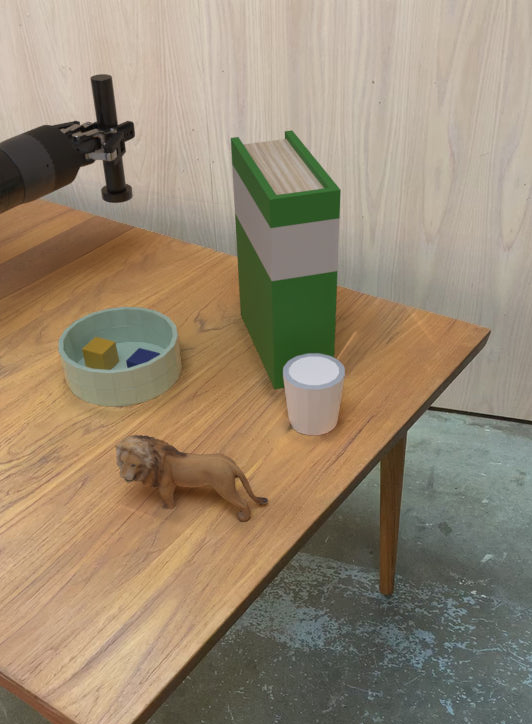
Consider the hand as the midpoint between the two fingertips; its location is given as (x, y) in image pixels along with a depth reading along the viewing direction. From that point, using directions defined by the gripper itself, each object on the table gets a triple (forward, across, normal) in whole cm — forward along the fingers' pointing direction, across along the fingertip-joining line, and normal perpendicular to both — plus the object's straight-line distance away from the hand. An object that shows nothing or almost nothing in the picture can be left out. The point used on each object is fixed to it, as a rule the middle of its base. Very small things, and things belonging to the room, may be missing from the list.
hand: (122, 126), depth 108 cm
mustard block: (-26, -16, +19) cm, 36 cm away
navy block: (-25, -23, +19) cm, 39 cm away
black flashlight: (-3, 0, +9) cm, 9 cm away
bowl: (-26, -20, +19) cm, 38 cm away
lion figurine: (-40, -41, +20) cm, 60 cm away
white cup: (-21, -44, +19) cm, 53 cm away
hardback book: (-10, -34, +19) cm, 40 cm away
